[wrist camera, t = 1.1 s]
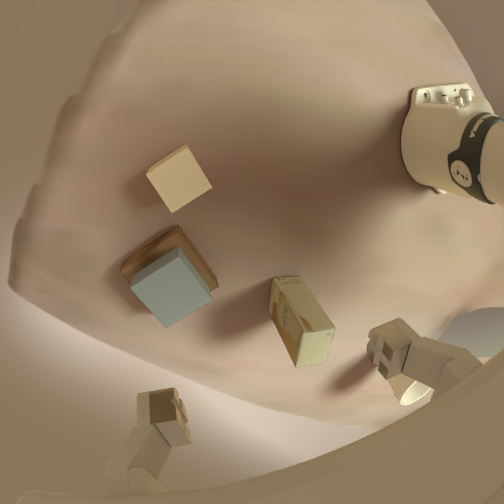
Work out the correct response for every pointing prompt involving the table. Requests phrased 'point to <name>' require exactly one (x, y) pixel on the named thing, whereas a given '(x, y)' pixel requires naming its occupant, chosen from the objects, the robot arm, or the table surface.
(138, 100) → the table surface
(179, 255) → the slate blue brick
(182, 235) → the walnut base brick
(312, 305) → the skincare box
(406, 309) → the table surface
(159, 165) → the cream brick
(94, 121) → the table surface
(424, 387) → the foam cup
